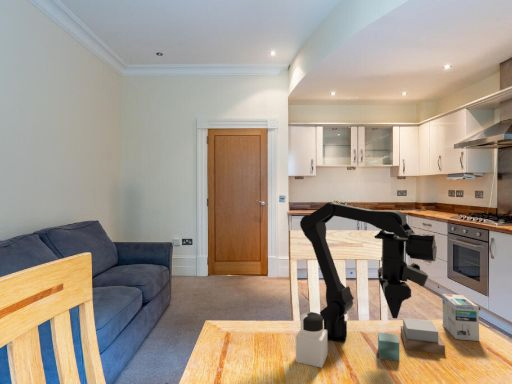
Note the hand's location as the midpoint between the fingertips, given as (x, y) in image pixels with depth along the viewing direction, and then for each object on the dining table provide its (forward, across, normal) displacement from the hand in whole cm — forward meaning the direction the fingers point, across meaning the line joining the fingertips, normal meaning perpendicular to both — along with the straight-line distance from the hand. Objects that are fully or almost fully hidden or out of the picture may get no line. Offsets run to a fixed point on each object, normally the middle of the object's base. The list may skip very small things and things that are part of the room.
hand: (392, 311), depth 86 cm
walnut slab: (+12, +9, -9) cm, 18 cm away
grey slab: (+9, +9, -9) cm, 16 cm away
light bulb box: (+12, +19, -23) cm, 32 cm away
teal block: (+12, -1, +1) cm, 12 cm away
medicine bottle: (+12, -8, +21) cm, 26 cm away
